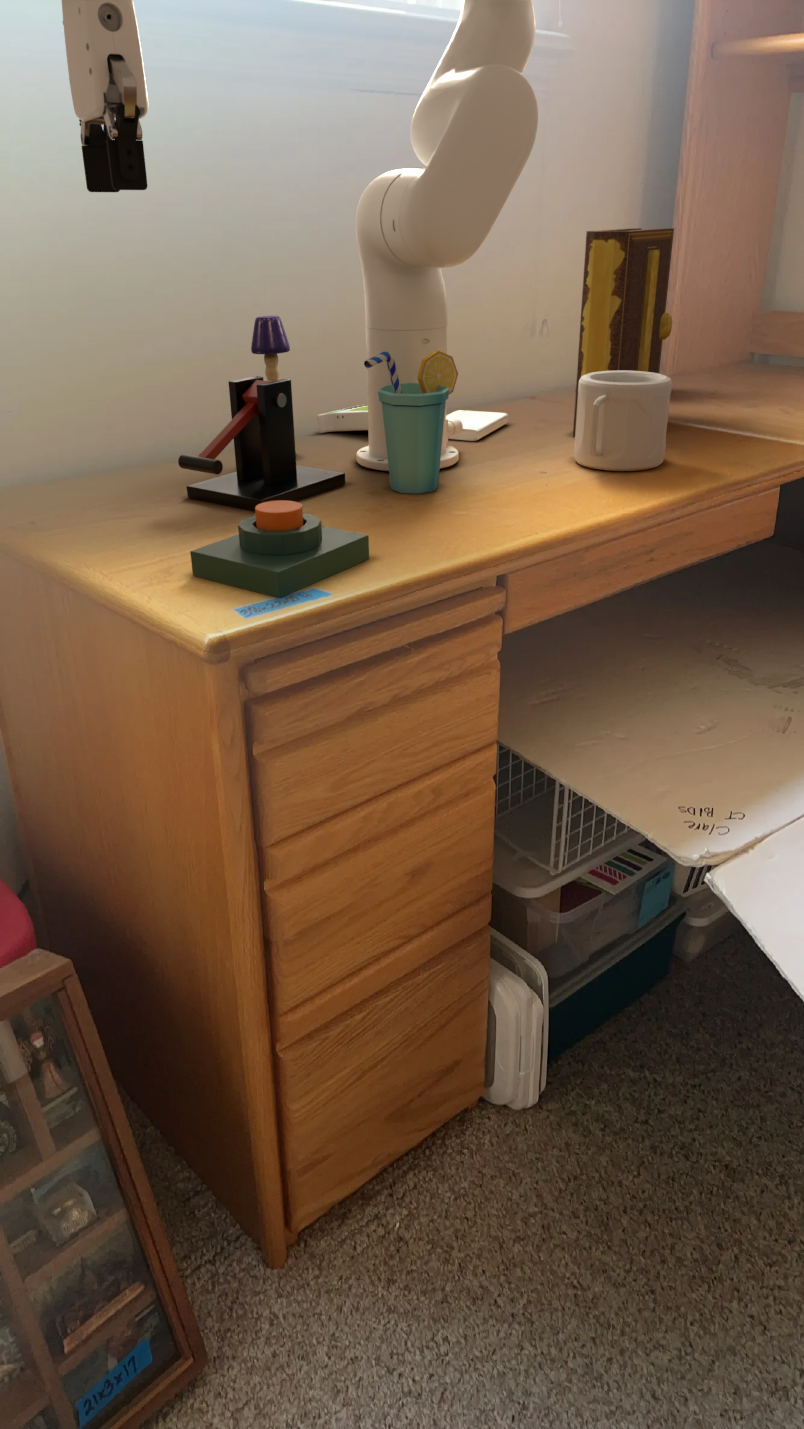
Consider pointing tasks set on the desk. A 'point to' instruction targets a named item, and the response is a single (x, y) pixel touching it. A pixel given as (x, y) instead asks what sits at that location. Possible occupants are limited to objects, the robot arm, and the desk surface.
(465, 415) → the hard drive
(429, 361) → the cup
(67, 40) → the robot arm
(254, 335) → the toy lamp
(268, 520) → the button
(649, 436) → the mug
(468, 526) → the desk surface
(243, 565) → the control block
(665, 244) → the book
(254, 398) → the lever
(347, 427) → the handheld gaming console
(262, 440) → the bracket
